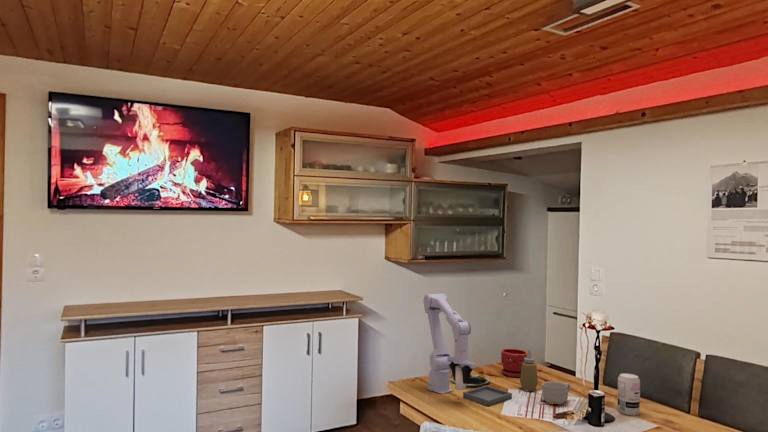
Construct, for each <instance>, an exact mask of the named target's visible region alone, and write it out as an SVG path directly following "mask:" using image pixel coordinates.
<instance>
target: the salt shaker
mask: <svg viewBox="0 0 768 432" xmlns="http://www.w3.org/2000/svg"><path fill="white" fill-rule="evenodd" d="M461 367H464V366H463V365H457V366H455V370H456V373H455V383H454V384H455V389H456V390H459V391H465V390H466V389H467V387H466V384H463V374H462V370H461Z"/></svg>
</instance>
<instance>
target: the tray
mask: <svg viewBox="0 0 768 432" xmlns="http://www.w3.org/2000/svg"><path fill="white" fill-rule="evenodd" d="M462 394H463V395H462V399H465V400H468V401H471V402H473V403H477V404H480V405H482V406H486V407H492V406H496V405H497V404H501V403H503V402H504V403H505V402H507V401H509V400H513V393H512V392H509V391H506V390H503V389H499V388H496V387H493V386H490V385H486V386H482V387H478V388H473V389H469V390H466V391H463V393H462Z"/></svg>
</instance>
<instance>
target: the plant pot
mask: <svg viewBox="0 0 768 432" xmlns="http://www.w3.org/2000/svg"><path fill="white" fill-rule="evenodd" d="M527 352H528V351H526V350H523V349H518V348H517V349H516V348H504V349H501V353H500V359H501V366H502V369H501V372H502V373H503V374H504V375H505V376H507V377H512V378H513V377H514V378H519V377H521V368H522V363H523V362H524V358H525V357H527Z"/></svg>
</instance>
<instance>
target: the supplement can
mask: <svg viewBox="0 0 768 432" xmlns="http://www.w3.org/2000/svg"><path fill="white" fill-rule="evenodd" d="M640 400H641V380H640V377H639V376H638V375H636V374H633V373H619V376H618V377H617V411H618V412H619V413H621V414H623V415H626V416H630V417H631V416H632V417H633V416H637V415H639V414H640V413H641V410H640V407H641V401H640Z"/></svg>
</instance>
